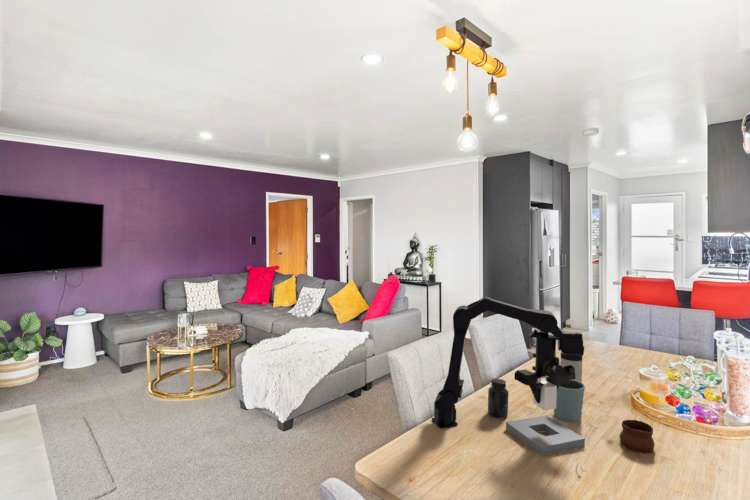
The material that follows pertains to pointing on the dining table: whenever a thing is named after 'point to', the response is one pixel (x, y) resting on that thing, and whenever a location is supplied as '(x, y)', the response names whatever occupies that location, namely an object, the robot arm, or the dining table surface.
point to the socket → (554, 443)
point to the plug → (547, 396)
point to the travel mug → (573, 364)
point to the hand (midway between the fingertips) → (544, 401)
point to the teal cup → (569, 401)
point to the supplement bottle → (498, 399)
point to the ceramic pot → (637, 436)
